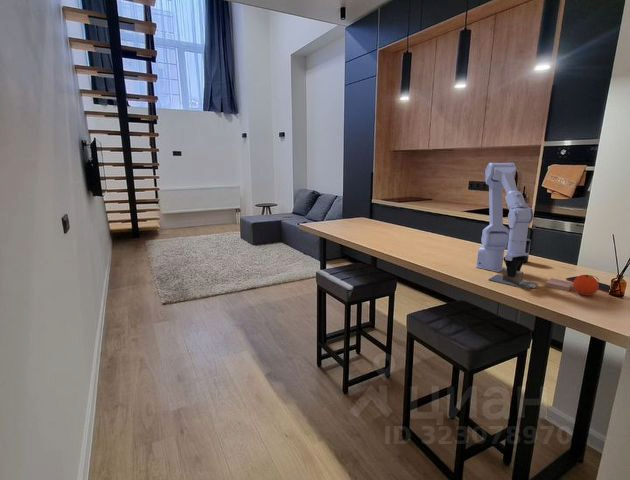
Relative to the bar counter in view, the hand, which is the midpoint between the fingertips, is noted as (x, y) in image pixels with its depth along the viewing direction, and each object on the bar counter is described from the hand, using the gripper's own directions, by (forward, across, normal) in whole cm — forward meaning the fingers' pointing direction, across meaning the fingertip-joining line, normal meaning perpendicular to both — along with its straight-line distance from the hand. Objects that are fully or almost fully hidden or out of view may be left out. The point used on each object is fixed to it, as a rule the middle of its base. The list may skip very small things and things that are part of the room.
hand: (513, 275), depth 132 cm
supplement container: (+3, +32, +8) cm, 34 cm away
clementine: (+3, +5, -22) cm, 22 cm away
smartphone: (+3, +18, -21) cm, 28 cm away
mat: (+3, 0, 0) cm, 3 cm away
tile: (+2, +7, -10) cm, 12 cm away
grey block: (+2, 0, -3) cm, 3 cm away
